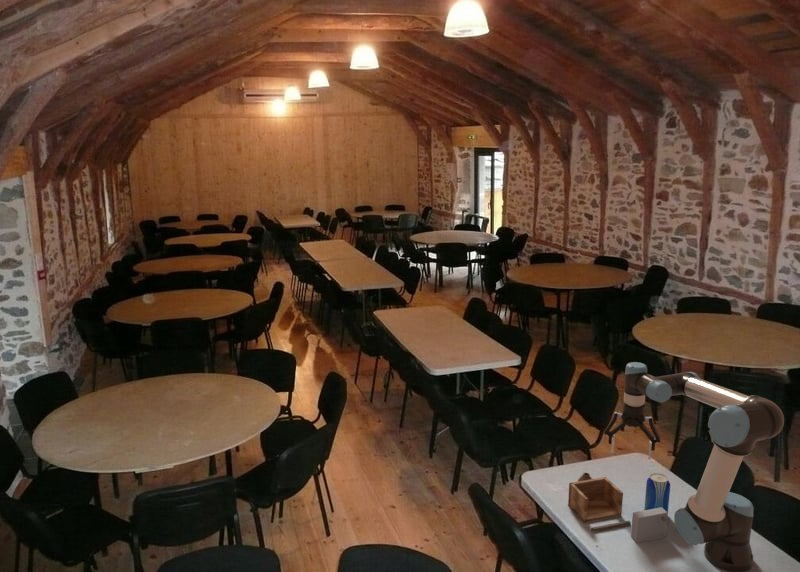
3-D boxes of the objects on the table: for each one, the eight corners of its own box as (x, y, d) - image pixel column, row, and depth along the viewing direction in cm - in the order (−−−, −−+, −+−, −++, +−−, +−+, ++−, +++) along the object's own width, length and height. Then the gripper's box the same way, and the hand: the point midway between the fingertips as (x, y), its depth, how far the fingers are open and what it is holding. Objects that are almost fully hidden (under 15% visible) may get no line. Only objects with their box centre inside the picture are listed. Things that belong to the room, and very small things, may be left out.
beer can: (669, 522, 247) (672, 484, 243) (645, 520, 249) (649, 482, 245) (665, 509, 255) (668, 472, 251) (642, 507, 257) (645, 470, 253)
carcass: (630, 524, 246) (632, 501, 243) (592, 532, 242) (593, 508, 240) (604, 499, 263) (605, 476, 260) (568, 505, 259) (569, 482, 256)
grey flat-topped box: (667, 538, 238) (669, 514, 235) (638, 544, 235) (640, 519, 232) (659, 531, 242) (661, 507, 240) (630, 536, 239) (632, 512, 237)
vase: (591, 488, 270) (592, 469, 268) (595, 498, 264) (597, 478, 262) (574, 488, 271) (575, 469, 269) (578, 498, 264) (579, 478, 262)
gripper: (669, 403, 246) (666, 455, 250) (600, 395, 255) (598, 445, 260) (669, 411, 239) (665, 464, 244) (598, 402, 249) (596, 453, 253)
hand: (630, 454), depth 252 cm, fingers open, 13 cm apart
